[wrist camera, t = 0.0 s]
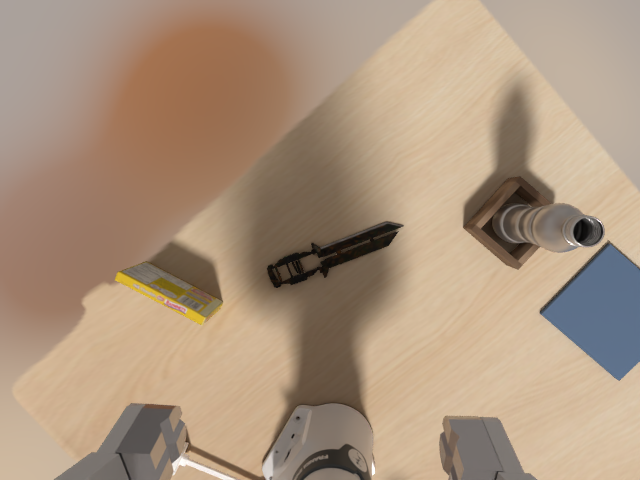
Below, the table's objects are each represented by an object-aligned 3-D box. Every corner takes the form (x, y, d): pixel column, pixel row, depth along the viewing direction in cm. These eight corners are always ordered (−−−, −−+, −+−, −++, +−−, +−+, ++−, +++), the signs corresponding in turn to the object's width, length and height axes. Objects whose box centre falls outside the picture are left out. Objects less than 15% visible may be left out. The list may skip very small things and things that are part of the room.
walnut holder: (506, 265, 61) (518, 269, 57) (463, 227, 61) (471, 229, 57) (552, 216, 60) (567, 217, 56) (508, 178, 60) (520, 176, 56)
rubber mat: (616, 379, 62) (619, 380, 61) (539, 313, 62) (541, 314, 61) (686, 312, 60) (690, 313, 60) (607, 243, 60) (610, 244, 59)
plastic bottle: (507, 249, 61) (587, 272, 41) (479, 222, 61) (546, 231, 41) (535, 222, 60) (631, 231, 40) (507, 194, 60) (589, 190, 40)
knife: (400, 217, 62) (401, 217, 61) (410, 252, 63) (411, 253, 61) (264, 256, 64) (262, 257, 63) (274, 290, 65) (273, 292, 63)
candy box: (141, 270, 66) (113, 280, 57) (146, 260, 65) (118, 268, 57) (219, 311, 65) (201, 327, 57) (224, 301, 65) (207, 315, 57)
